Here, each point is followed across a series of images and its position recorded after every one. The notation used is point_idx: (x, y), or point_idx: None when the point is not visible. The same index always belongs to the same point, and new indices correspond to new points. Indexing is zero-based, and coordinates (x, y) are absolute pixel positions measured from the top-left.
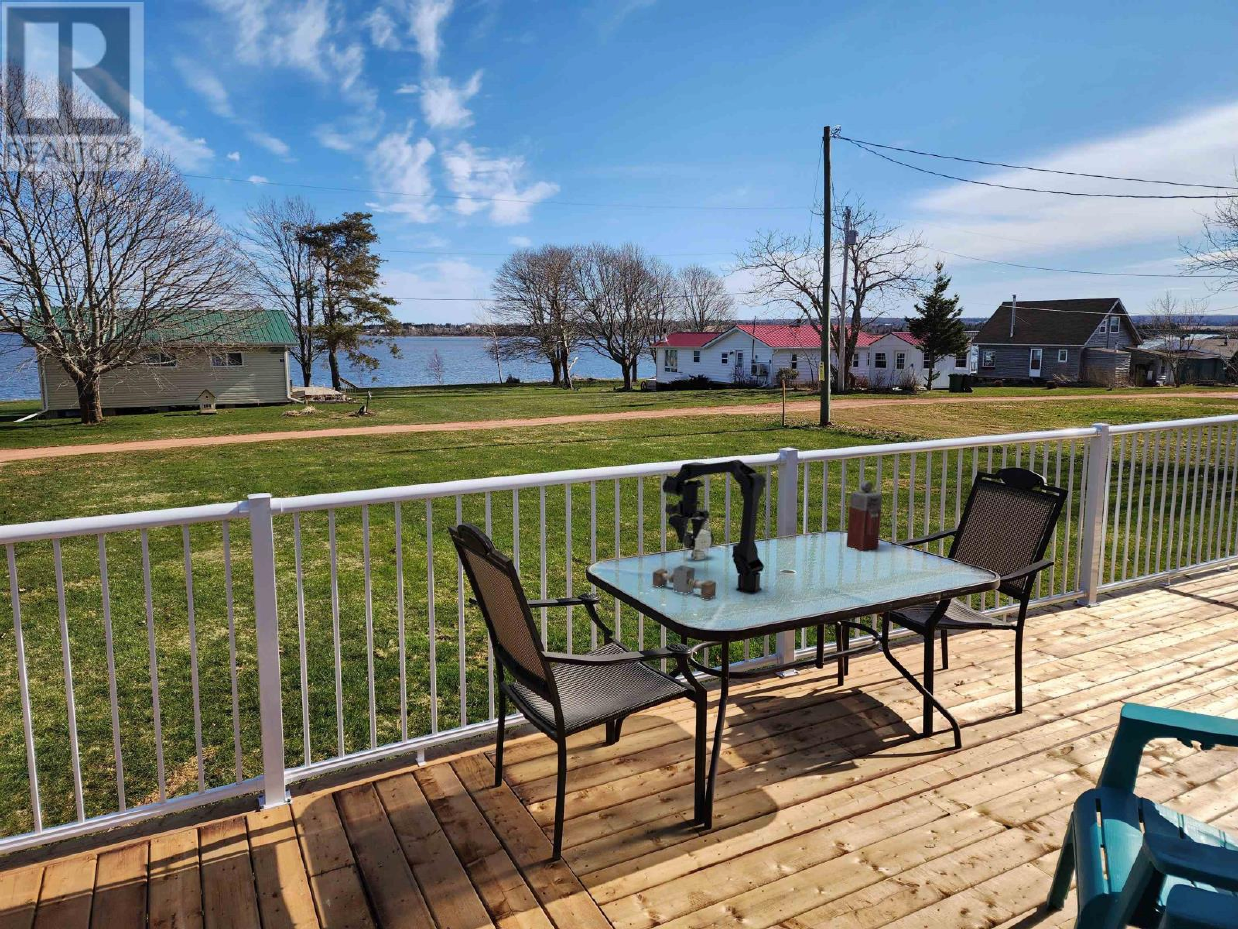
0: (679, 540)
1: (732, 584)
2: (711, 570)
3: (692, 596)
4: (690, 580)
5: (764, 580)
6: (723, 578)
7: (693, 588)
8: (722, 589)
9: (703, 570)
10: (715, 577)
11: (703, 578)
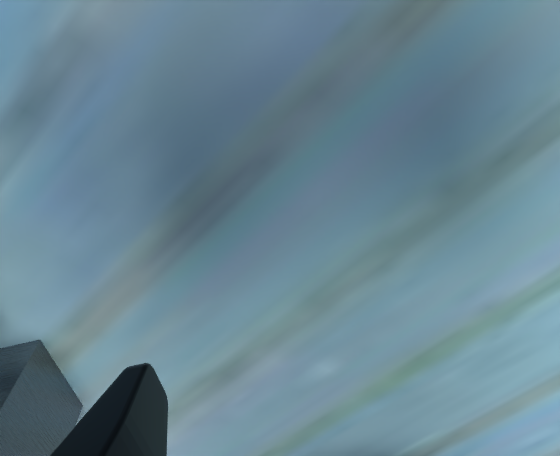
0: (98, 419)
1: (366, 425)
2: (534, 186)
3: None
4: None
5: (553, 453)
6: (424, 343)
7: (72, 422)
8: (252, 448)
9: (490, 150)
10: (403, 307)
11: (320, 283)
